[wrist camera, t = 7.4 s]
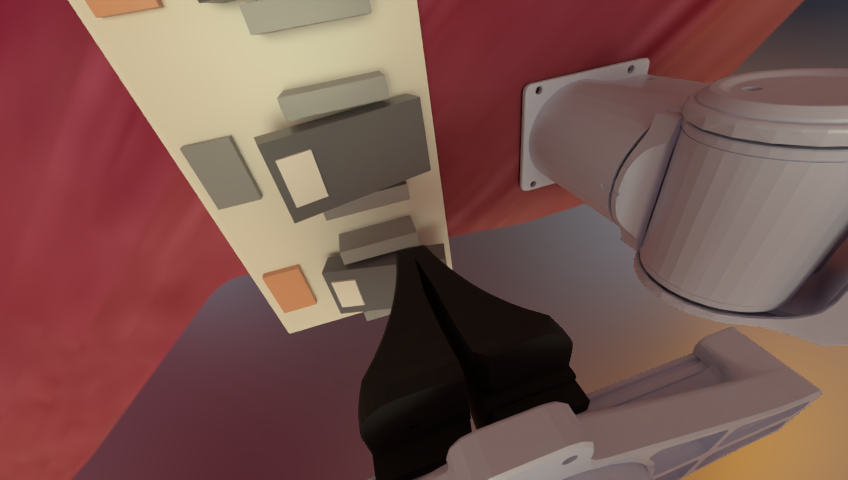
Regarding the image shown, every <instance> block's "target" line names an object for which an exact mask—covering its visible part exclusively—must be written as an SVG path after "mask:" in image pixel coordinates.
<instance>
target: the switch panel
mask: <svg viewBox="0 0 848 480" xmlns="http://www.w3.org/2000/svg"><path fill="white" fill-rule="evenodd" d="M68 1H69V2H70V4H71V5H72V7H73V8H74V10H75V11H76V13H77V14H78V16H79V17H80V19H81V20H82V22H83V23H84V25H85V27H86V28H87V30H88V31H89V33H90V34H91V36H92V37H93V39H94V40H95V42H96V43H97V45H98V46H99V48H100V49H101V51H102V52H103V54H104V55H105V57H106V58H107V60H108V61H109V63H110V64H111V66H112V67H113V69H114V70H115V72H116V73H117V75H118V76H119V78H120V79H121V81H122V82H123V84H124V85H125V87H126V88H127V90H128V91H129V93H130V94H131V96H132V97H133V99H134V100H135V102H136V103H137V105H138V106H139V108H140V109H141V111H142V112H143V114H144V115H145V117H146V118H147V120H148V121H149V123H150V124H151V126H152V128H153V129H154V131H155V132H156V134H157V135H158V137H159V138H160V140H161V141H162V143H163V144H164V146H165V147H166V149H167V150H168V152H169V153H170V155H171V156H172V158H173V159H174V161H175V162H176V164H177V165H178V167H179V168H180V170H181V171H182V173H183V174H184V176H185V177H186V179H187V180H188V182H189V183H190V185H191V186H192V188H193V189H194V191H195V192H196V194H197V195H198V197H199V198H200V200H201V201H202V203H203V204H204V206H205V207H206V209H207V210H208V212H209V213H210V215H211V216H212V218H213V219H214V221H215V222H216V224H217V225H218V227H219V228H220V230H221V232H222V233H223V235H224V236H225V238H226V239H227V241H228V242H229V244H230V245H231V247H232V248H233V250H234V251H235V253H236V254H237V256H238V257H239V259H240V260H241V262H242V263H243V265H244V266H245V268H246V269H247V271H248V272H249V274H250V275H251V277H252V278H253V280H254V281H255V283H256V284H257V286H258V287H259V289H260V290H261V292H262V293H263V295H264V296H265V298H266V299H267V301H268V302H269V304H270V305H271V307H272V308H273V310H274V311H275V313H276V314H277V316H278V317H279V319H280V320H281V322H282V323H283V325H284V326H285V328H286V329H287V331H288V332H289V334H290V333H293V332H297V331H300V330H303V329H306V328H310V327H313V326H317V325H320V324H323V323H327V322H331V321H334V320H337V319H341V318H344V317H347V316H351V315H354V314H358V313H361V312H353V313H343V314H341V313H340V311H339V309H338V307H337V304H336V302H335V300H334V298H333V296H332V294H331V292H330V290H329V288H328V285H327V283H326V281H325V279H324V277H323V275H322V271H323V268H324V266H325V263H326V261H327V258H328V257H335V256H341V258H342V260H343V263H344V265H346V264H350V263H354V262H357V261H361V260H364V259H368V258H372V257H375V256H379V255H382V254H386V253H390V252H393V251H397V250H400V249H404V248H409V247H417V246H421V245H433V244H442V243H444V248H445V255H446V262H447V266H448V267H449V268H450V269H452V262H451V255H450V247H449V240H448V232H447V225H446V217H445V209H444V202H443V194H442V187H441V179H440V172H439V164H438V157H437V149H436V142H435V134H434V127H433V119H432V111H431V104H430V96H429V89H428V81H427V74H426V66H425V59H424V51H423V44H422V36H421V29H420V21H419V13H418V6H417V0H236V1H232V2H227V3H199V2H198V0H68ZM403 94H409V95H414V96H418V97H420V100H421V107H422V113H423V120H424V127H425V133H426V140H427V147H428V154H429V160H430V167H431V171H428V172H425V173H423V174H420V175H418V176H415V177H413V178H410V179H408V180H405V181H402V182H400V183H397V184H395V185H392V186H390V187H387V188H385V189H382V190H379V191H377V192H374V193H372V194H369V195H367V196H364V197H362V198H359V199H356V200H354V201H351V202H349V203H346V204H344V205H341V206H339V207H336V208H333V209H331V210H328V211H326V212H323V213H321V214H318V215H316V216H313V217H310V218H308V219H305V220H303V221H300V222H298V223H294V221H293V219H292V217H291V215H290V213H289V211H288V209H287V206H286V204H285V202H284V200H283V198H282V196H281V194H280V192H279V190H278V188H277V186H276V184H275V182H274V180H273V177H272V175H271V173H270V171H269V169H268V167H267V165H266V163H265V161H264V159H263V157H262V155H261V153H260V151H259V148H258V146H257V144H256V142H255V140H254V137H256V136H260V135H263V134H267V133H270V132H274V131H277V130H281V129H284V128H288V127H291V126H295V125H298V124H302V123H305V122H309V121H312V120H316V119H319V118H323V117H326V116H330V115H333V114H337V113H340V112H344V111H347V110H351V109H354V108H358V107H361V106H365V105H368V104H372V103H375V102H379V101H382V100H386V99H389V98H392V97H396V96H399V95H403ZM363 312H364V314H365V317H366V319H367V321H369V320H372V319H376V318H379V317H383V316H386V315H389V314H390V312H391V309H382V310H372V311H363Z"/></svg>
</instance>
